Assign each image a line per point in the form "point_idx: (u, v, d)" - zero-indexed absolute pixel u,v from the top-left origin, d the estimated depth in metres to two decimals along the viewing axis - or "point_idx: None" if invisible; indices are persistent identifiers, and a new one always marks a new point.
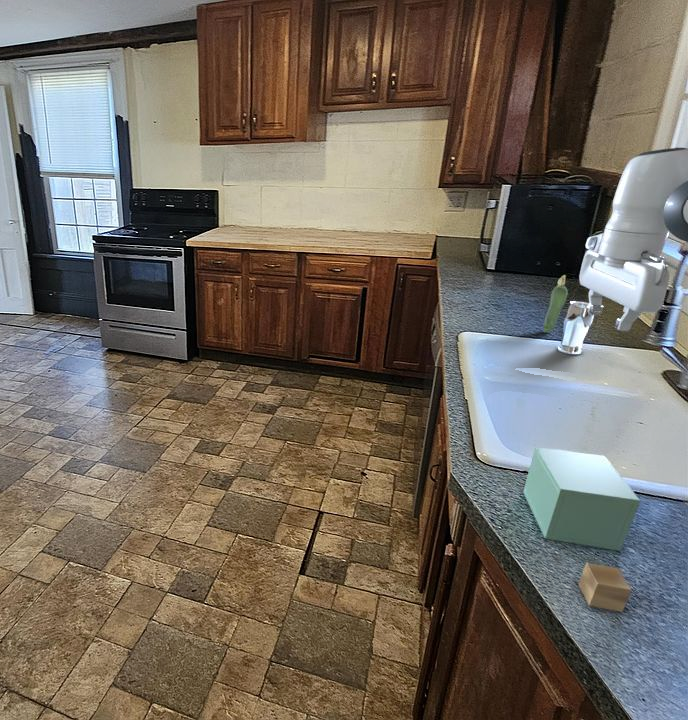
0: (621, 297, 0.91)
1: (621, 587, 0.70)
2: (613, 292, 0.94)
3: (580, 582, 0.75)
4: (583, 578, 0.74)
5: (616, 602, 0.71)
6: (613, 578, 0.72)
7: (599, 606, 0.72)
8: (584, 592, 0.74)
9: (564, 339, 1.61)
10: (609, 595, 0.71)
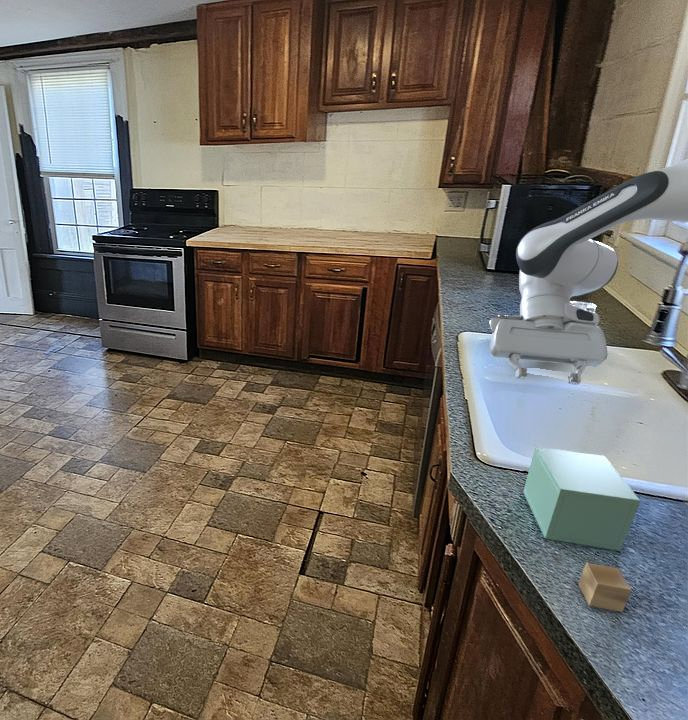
0: None
1: (621, 587, 0.70)
2: None
3: (580, 582, 0.75)
4: (583, 578, 0.74)
5: (616, 602, 0.71)
6: (613, 578, 0.72)
7: (599, 606, 0.72)
8: (584, 592, 0.74)
9: None
10: (609, 595, 0.71)
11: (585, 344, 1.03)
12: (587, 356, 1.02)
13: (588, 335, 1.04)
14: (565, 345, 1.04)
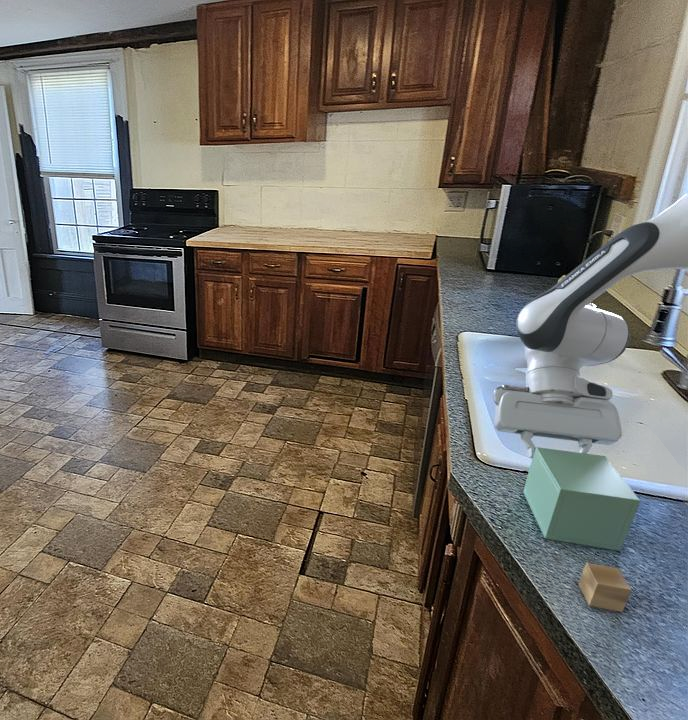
0: None
1: (621, 587, 0.70)
2: None
3: (580, 582, 0.75)
4: (583, 578, 0.74)
5: (616, 602, 0.71)
6: (613, 578, 0.72)
7: (599, 606, 0.72)
8: (584, 592, 0.74)
9: None
10: (609, 595, 0.71)
11: (597, 422, 0.95)
12: (599, 435, 0.95)
13: (600, 411, 0.96)
14: (576, 423, 0.96)
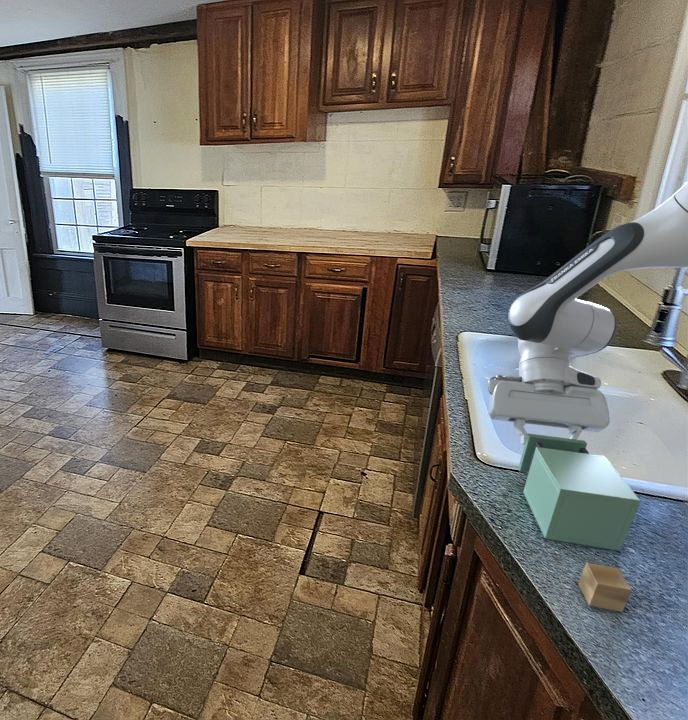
0: None
1: (621, 587, 0.70)
2: None
3: (580, 582, 0.75)
4: (583, 578, 0.74)
5: (616, 602, 0.71)
6: (613, 578, 0.72)
7: (599, 606, 0.72)
8: (584, 592, 0.74)
9: None
10: (609, 595, 0.71)
11: (586, 410, 1.00)
12: (588, 422, 0.99)
13: (589, 399, 1.01)
14: (566, 411, 1.00)
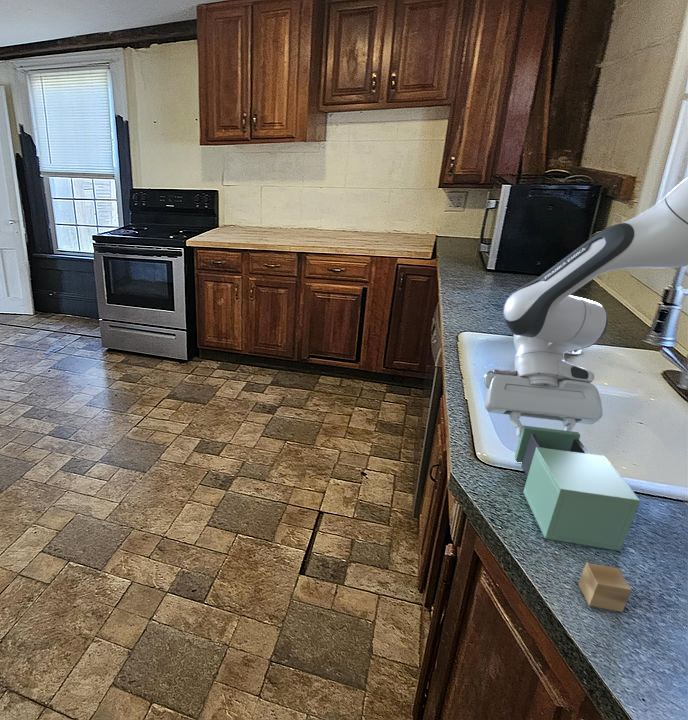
0: None
1: (621, 587, 0.70)
2: None
3: (580, 582, 0.75)
4: (583, 578, 0.74)
5: (616, 602, 0.71)
6: (613, 578, 0.72)
7: (599, 606, 0.72)
8: (584, 592, 0.74)
9: None
10: (609, 595, 0.71)
11: (580, 403, 1.03)
12: (582, 415, 1.02)
13: (583, 392, 1.04)
14: (560, 403, 1.03)
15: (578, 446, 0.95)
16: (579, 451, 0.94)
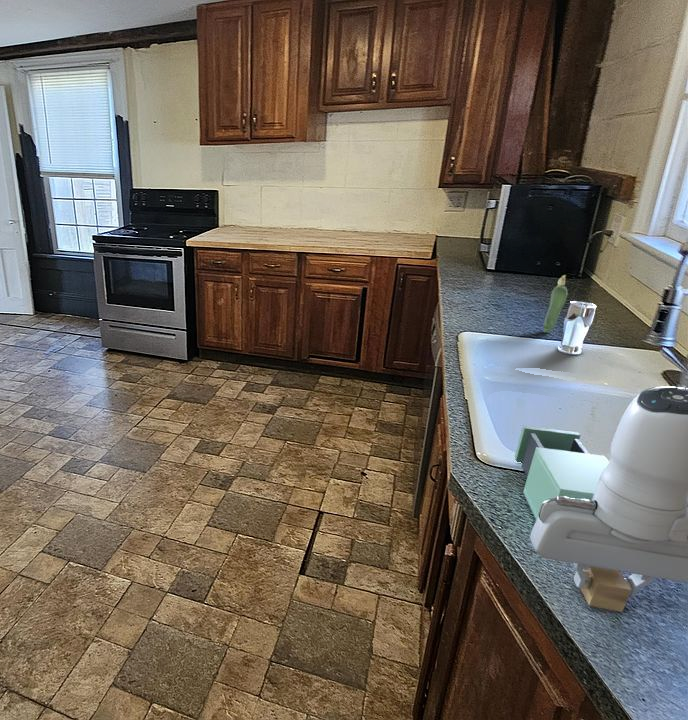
0: None
1: (621, 587, 0.70)
2: None
3: None
4: None
5: (616, 602, 0.71)
6: (613, 578, 0.72)
7: (599, 606, 0.72)
8: (584, 592, 0.74)
9: (564, 339, 1.61)
10: (609, 595, 0.71)
11: (682, 564, 0.67)
12: (677, 579, 0.68)
13: None
14: (649, 562, 0.68)
15: (578, 446, 0.95)
16: (579, 451, 0.94)
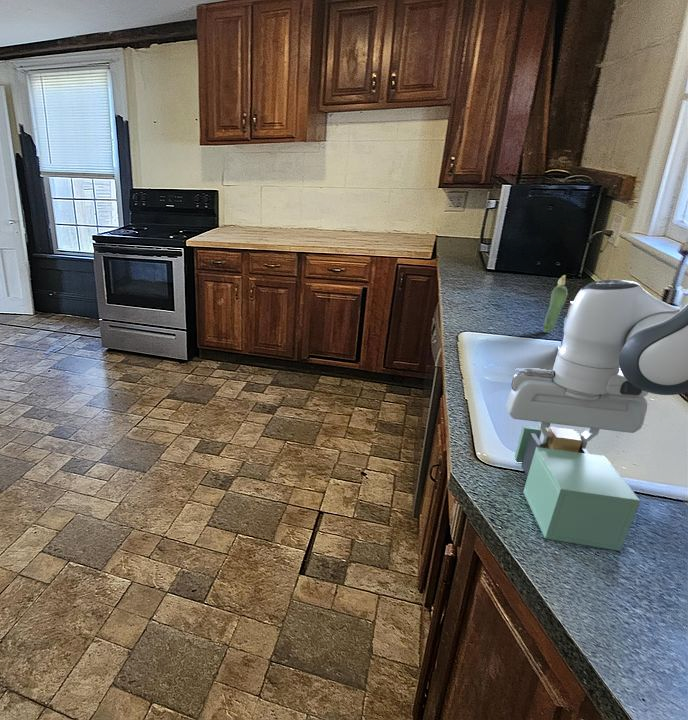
0: None
1: (574, 439, 0.92)
2: None
3: None
4: None
5: (570, 451, 0.93)
6: (569, 434, 0.93)
7: None
8: (547, 448, 0.95)
9: None
10: (565, 446, 0.92)
11: (618, 416, 0.89)
12: (615, 429, 0.90)
13: (627, 404, 0.88)
14: (594, 416, 0.90)
15: None
16: (579, 451, 0.94)
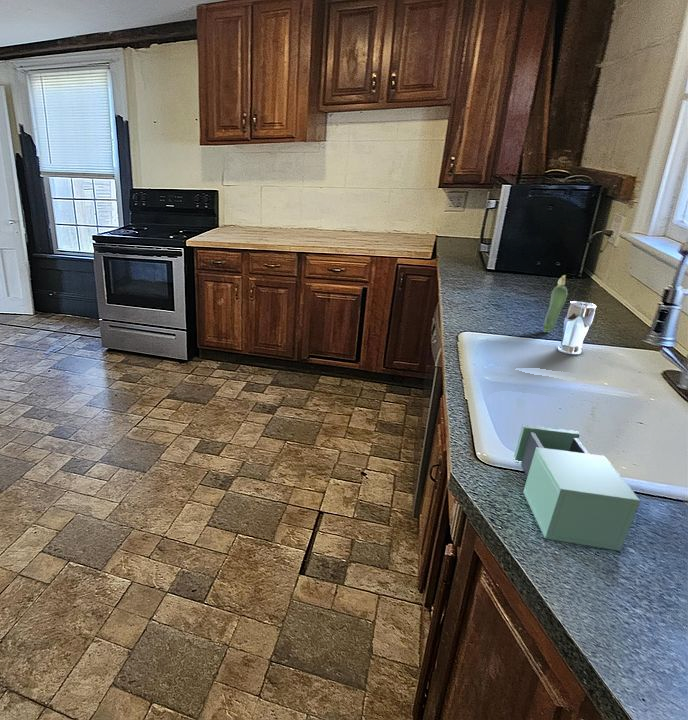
0: None
1: None
2: None
3: None
4: None
5: None
6: None
7: None
8: None
9: (564, 339, 1.61)
10: None
11: None
12: None
13: None
14: None
15: (577, 445, 0.95)
16: (578, 450, 0.95)
